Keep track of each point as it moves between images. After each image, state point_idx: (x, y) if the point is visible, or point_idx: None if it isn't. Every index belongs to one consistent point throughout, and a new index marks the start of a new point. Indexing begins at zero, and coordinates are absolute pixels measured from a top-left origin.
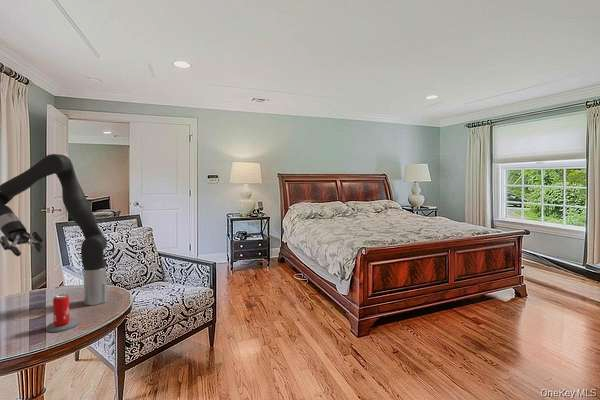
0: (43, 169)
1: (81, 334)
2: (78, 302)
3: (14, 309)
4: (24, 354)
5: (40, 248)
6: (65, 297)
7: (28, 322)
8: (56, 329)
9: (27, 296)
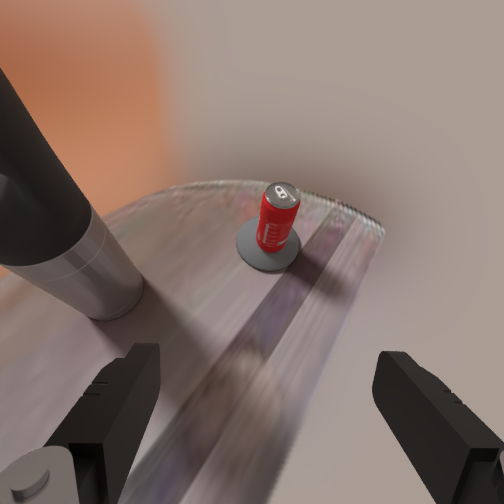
0: None
1: None
2: (119, 340)
3: None
4: (365, 214)
5: (149, 350)
6: (281, 183)
7: (281, 342)
8: (291, 232)
9: None
